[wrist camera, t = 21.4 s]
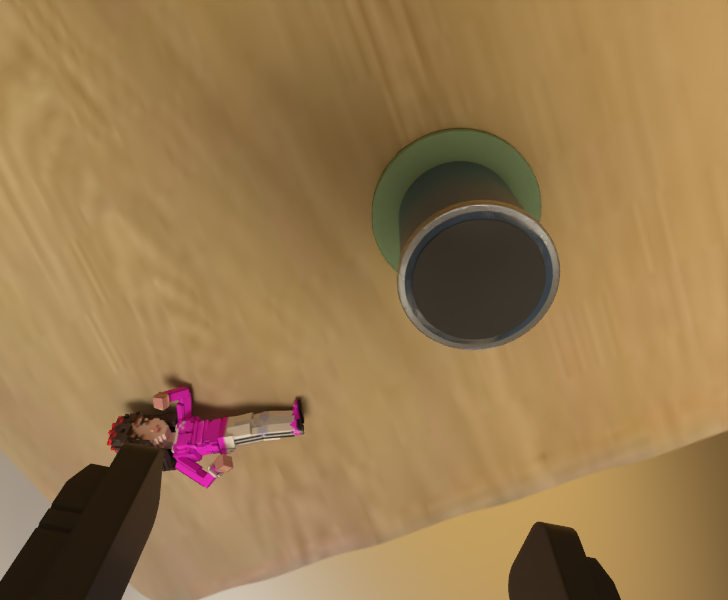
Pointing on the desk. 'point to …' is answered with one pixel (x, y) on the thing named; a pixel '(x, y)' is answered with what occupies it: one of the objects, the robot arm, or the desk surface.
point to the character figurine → (200, 434)
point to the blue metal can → (472, 259)
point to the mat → (440, 151)
